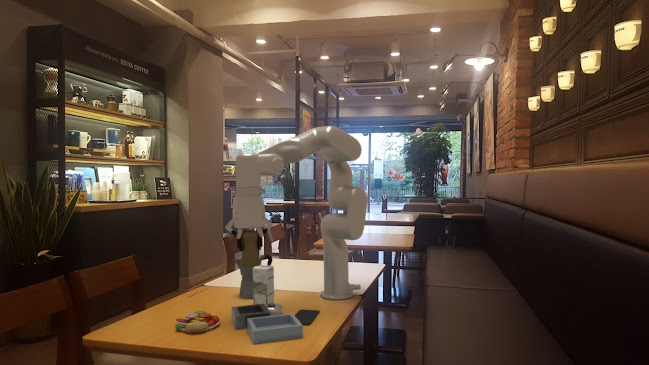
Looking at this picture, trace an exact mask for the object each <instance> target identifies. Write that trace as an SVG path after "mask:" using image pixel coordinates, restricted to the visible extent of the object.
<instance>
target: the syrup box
mask: <svg viewBox="0 0 649 365" xmlns="http://www.w3.org/2000/svg"><path fill="white" fill-rule="evenodd" d="M252 300H253V301H252V302H253V304H252V305H255V304H264V305H266V304H270V303H274V304H275V269H274V265H271V266H268V265H267V264H266V265H265V264H263V265H262V264H261V265H259V266H256V267H254V268H253V299H252Z"/></svg>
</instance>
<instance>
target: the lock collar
mask: <svg viewBox="0 0 649 365" xmlns="http://www.w3.org/2000/svg"><path fill="white" fill-rule="evenodd" d="M274 315H283V305H282V304H279V303H275V302H274V303H270V304H266V305H264V304H255V305H253V304H248V305H237V306H236V305H235V306H231V322H232V323H233V326H234V329H235V330H242V329H247V318H256V317H265V316H274Z"/></svg>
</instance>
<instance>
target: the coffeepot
mask: <svg viewBox="0 0 649 365" xmlns="http://www.w3.org/2000/svg"><path fill="white" fill-rule="evenodd" d="M241 258H242V255H241V256H240V257H235V258H234V259H233V262H235V264H236V265H237V268H239V271H240V276H241V281H240V287H239V294H238V297H239V298H240V299H243V300H244V299H245V300H253V268H254V267H242V266H241ZM265 260H267V263H266V265H268V266H272V264H273V258H272V257H271V255H270V254H259V262H260V265H262V261H265Z"/></svg>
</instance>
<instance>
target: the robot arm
mask: <svg viewBox="0 0 649 365" xmlns="http://www.w3.org/2000/svg"><path fill="white" fill-rule="evenodd" d="M320 151H321V155H322V157H323V159H324V161H325V162H326V164H327V165H328V168H329V170H330V182H329V189H328V190H329V191H328V197H327V202H328V203H327V204H328V206H329V207H330V209H332V210H334V211H346V212H347V214H346V213H328V214H326V215H325V216H323V218H322V219H321V221H320V233H321V238H322V247H323V290H321V292H320V293H319V295H320V297H321V298H323V299H325V300H326V299H327V300H332V301H333V300H337V301H338V300H340V301H341V300H346V299H351V298H352V297H353V296H354V292H353V291H354V290H355V291H357V290H361V288H362V287H361V284H356V283H352V284H351V283H350V282H349V277H350V276H349V275H350V274H349V248H348V244H347V240H348V241H358V240H359V239H360V238H361V237H362V236H363V234H364V230H365V224H366V217H367V208H368V195H367V192H366V190H365V189H364V188H363V187H362V186H357V185H353V176H354V175H353V170H352V168H351V166H350V165H349V163H348V162H354V161H356V160H358V159H359V158H360V157H361V154H362V145H361V143H360V141H359V140H358V139H357V138H355V137H354V136H353V135H351V134H350V133H348V132H346V131H344V130H343V129H342V128H340V127H337V126H334V125H325V126H324V125H323V126H317V127H313V128H310V129H308V130H306V131H304V132H302V133H300V134H297V135H296V136H294V137H291V138H290V139H287V140H283V141H281V142H278V143H276V144H273V145H270V146H268V147H265V148H262V149H260V150H258V151H257V152H254V153H239V154H237V155H236V157H235V178H236V180H235V181H236V182H235V184H236V187H235V188H236V196H235V197H233V203H232V216H231V217H232V218H231V220H230V221H228V223H227V225H225V231H227V232H229V233H230V234H232V235H233V236H234V237H235V238H236V249H238V251H239V252H242V248H243V240H242V238H241V235H242V232H243V230H252V229H253V230H255V229H256V232H257V233H258V239H257V240H256V242H257V249H258V251H261V250H262V247H264V246H263V245H264V244H263V243H264V242H263V240H264V239H263V237H264V236H265V235H266V234H267V233H268V231H270V230H271V228H273V227H274V224H273V223H271V221H270V220H269V219H268V218H267V217H266V208H265V207H266V206H265V201H264V197H263V196H261V195H262V194H264V193H266V189H265V188H262V186H261V177H275V176H278V175H280V174H281V173H282V172H283V170H284V168H285V165H289V164H294V163H297V162H301V161H303V160H306V159H307V158H309V157H311V156H312V155H314V154H316V153H317V152H320ZM232 227H233V228H234V229H233V228H232ZM262 228H263V229H262ZM235 229H236V230H235Z"/></svg>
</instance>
